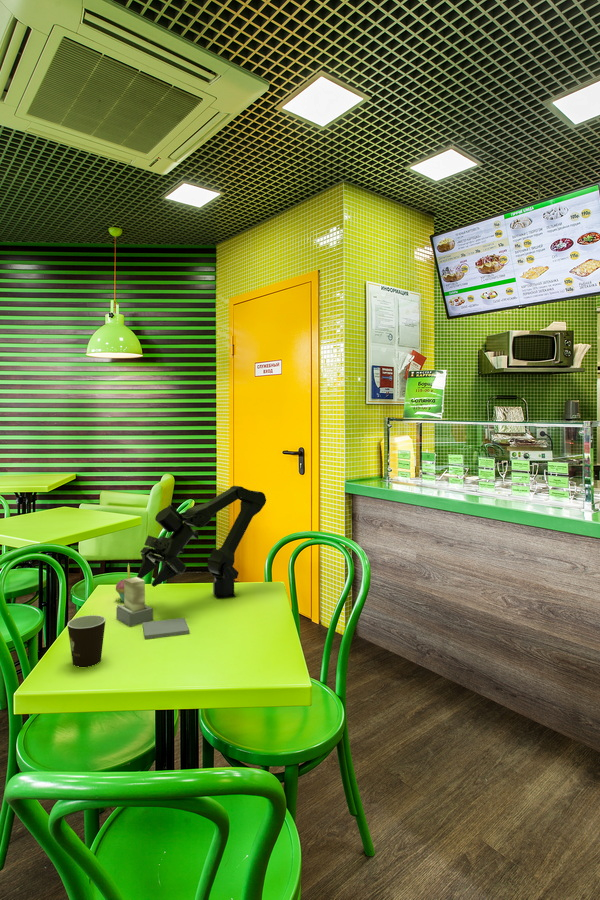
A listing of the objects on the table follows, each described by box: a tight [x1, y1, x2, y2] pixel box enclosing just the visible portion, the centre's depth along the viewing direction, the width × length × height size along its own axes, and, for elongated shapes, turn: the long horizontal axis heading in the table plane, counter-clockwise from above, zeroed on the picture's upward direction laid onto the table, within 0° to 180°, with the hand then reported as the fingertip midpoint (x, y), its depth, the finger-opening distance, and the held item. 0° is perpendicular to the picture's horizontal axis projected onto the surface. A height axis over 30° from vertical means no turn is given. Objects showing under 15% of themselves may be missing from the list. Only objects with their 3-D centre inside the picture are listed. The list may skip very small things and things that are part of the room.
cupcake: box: [115, 562, 131, 603], centre depth 172 cm, size 9×8×12 cm
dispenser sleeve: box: [115, 603, 154, 627], centre depth 155 cm, size 7×8×4 cm
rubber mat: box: [142, 617, 190, 640], centre depth 148 cm, size 12×10×1 cm
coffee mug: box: [67, 614, 106, 668], centre depth 128 cm, size 12×9×10 cm
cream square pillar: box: [123, 576, 146, 612], centre depth 155 cm, size 4×5×12 cm
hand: (144, 582), depth 157 cm, fingers open, 9 cm apart
